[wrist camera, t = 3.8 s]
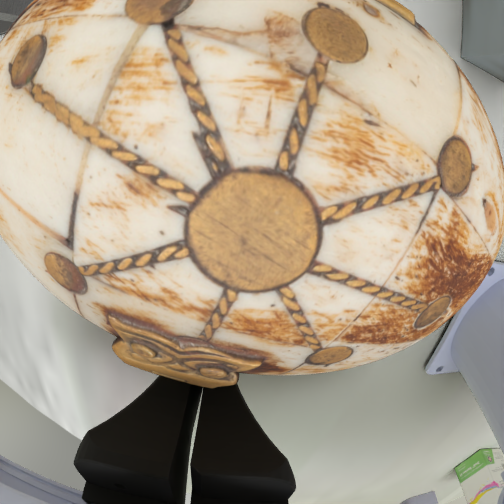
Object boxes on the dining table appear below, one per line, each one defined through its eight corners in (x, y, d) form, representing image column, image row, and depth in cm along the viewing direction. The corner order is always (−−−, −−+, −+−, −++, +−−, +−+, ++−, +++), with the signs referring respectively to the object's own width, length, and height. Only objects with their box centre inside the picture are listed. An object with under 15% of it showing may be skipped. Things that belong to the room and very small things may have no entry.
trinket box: (43, 50, 9) (-101, 48, 2) (395, -23, 8) (514, -93, 1) (124, 315, 15) (65, 447, 8) (424, 265, 14) (515, 382, 7)
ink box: (452, 468, 27) (478, 552, 14) (480, 448, 25) (512, 533, 12) (476, 466, 29) (501, 536, 16) (501, 447, 27) (530, 519, 14)
